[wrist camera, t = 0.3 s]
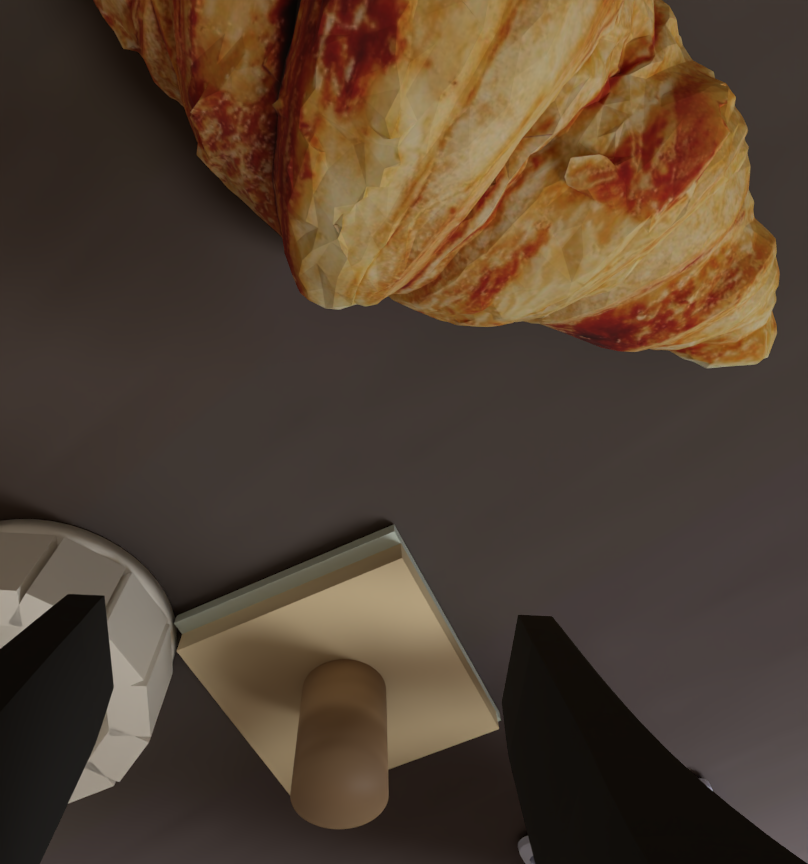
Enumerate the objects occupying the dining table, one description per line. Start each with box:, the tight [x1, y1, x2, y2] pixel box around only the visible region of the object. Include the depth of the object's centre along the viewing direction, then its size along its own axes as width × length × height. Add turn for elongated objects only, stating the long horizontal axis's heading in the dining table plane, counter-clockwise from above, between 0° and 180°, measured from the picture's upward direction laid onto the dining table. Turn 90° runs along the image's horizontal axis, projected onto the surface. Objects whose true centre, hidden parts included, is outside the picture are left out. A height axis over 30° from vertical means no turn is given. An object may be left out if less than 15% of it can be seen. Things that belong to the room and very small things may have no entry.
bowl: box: [0, 519, 177, 803], centre depth 23 cm, size 8×8×4 cm
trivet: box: [174, 524, 501, 721], centre depth 25 cm, size 9×8×1 cm
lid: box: [177, 543, 499, 829], centre depth 23 cm, size 8×8×5 cm
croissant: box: [93, 0, 780, 368], centre depth 16 cm, size 21×10×8 cm, turn 57°
